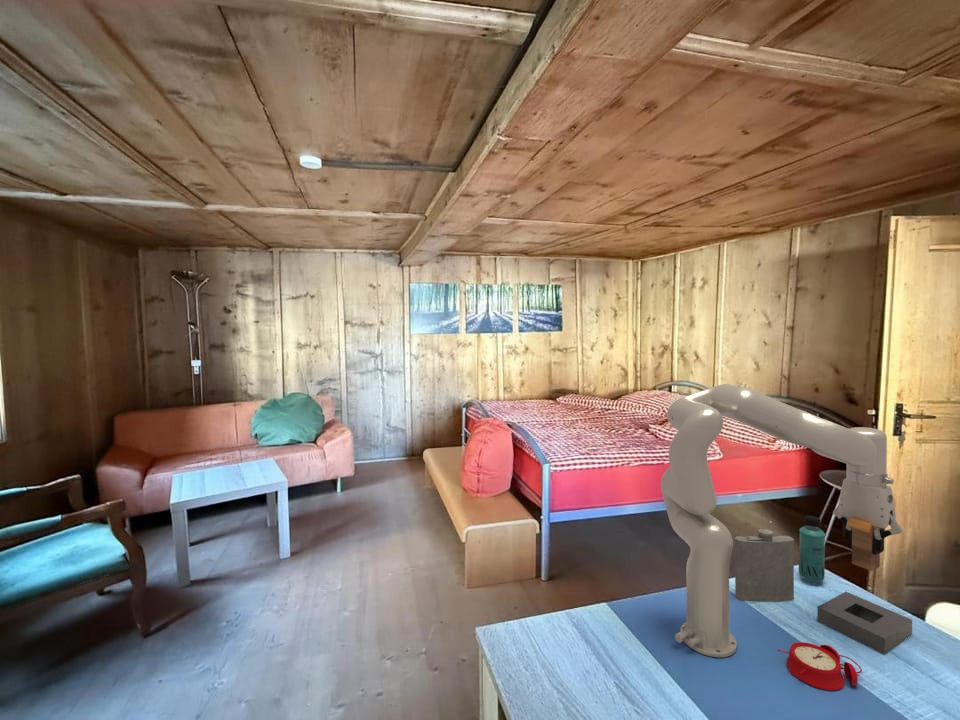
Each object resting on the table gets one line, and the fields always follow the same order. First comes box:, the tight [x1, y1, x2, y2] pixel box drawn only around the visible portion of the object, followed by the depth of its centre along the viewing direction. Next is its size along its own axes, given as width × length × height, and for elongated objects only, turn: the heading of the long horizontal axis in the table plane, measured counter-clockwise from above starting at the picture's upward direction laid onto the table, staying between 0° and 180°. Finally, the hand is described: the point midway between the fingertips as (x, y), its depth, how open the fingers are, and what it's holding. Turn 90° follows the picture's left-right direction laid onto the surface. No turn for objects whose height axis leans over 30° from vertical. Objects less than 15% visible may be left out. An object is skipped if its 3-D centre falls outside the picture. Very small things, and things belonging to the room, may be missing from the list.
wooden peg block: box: [849, 518, 881, 572], centre depth 111 cm, size 7×4×12 cm, turn 115°
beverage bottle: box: [798, 515, 826, 583], centre depth 134 cm, size 6×7×20 cm
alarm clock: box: [777, 641, 863, 691], centre depth 99 cm, size 10×6×15 cm
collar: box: [816, 591, 913, 656], centre depth 113 cm, size 14×14×4 cm
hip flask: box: [734, 528, 795, 603], centre depth 127 cm, size 16×4×20 cm, turn 87°
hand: (865, 548), depth 111 cm, fingers closed on wooden peg block, 4 cm apart
